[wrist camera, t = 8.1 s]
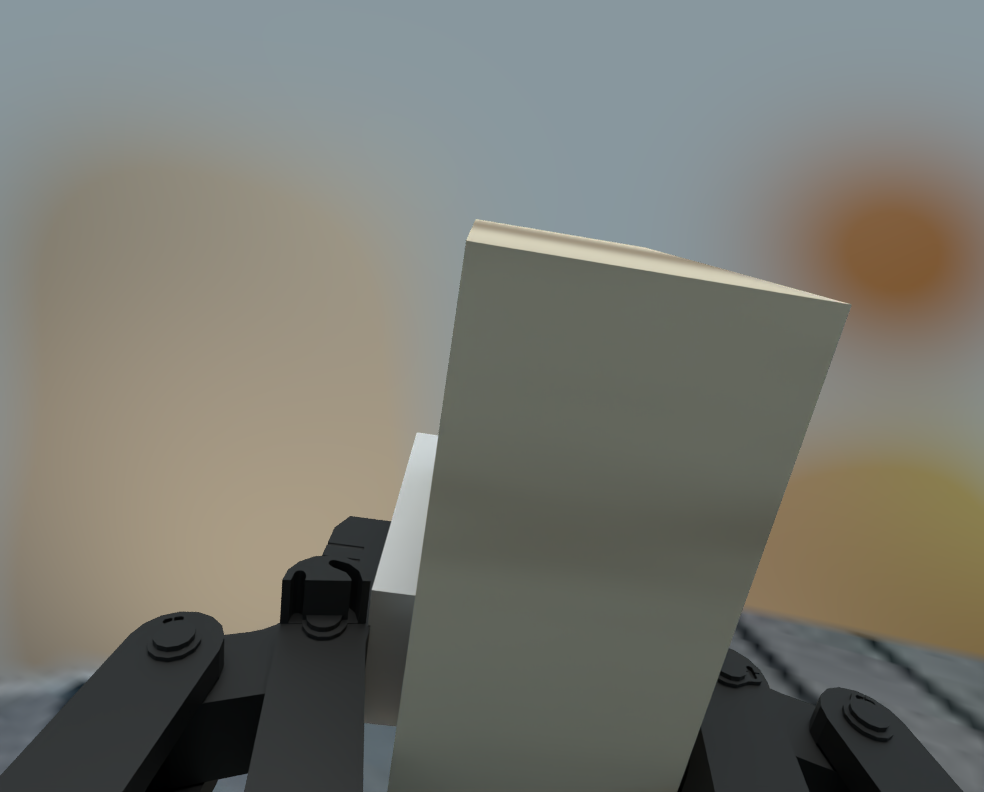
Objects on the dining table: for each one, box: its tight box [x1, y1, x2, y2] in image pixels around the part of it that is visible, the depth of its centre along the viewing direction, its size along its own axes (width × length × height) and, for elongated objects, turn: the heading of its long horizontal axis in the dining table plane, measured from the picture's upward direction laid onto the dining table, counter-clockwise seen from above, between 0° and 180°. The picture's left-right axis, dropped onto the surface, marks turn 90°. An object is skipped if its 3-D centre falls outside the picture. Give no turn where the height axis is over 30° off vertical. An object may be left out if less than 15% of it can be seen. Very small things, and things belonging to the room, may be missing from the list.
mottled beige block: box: [387, 219, 851, 792], centre depth 11 cm, size 7×4×16 cm, turn 1°
